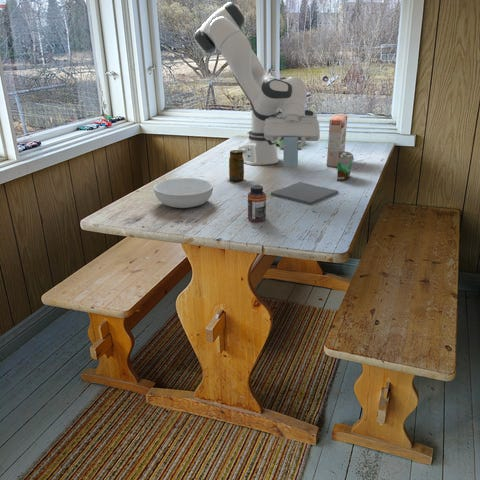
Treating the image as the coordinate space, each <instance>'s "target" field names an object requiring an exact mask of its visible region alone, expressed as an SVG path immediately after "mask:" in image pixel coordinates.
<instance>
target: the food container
mask: <svg viewBox="0 0 480 480" xmlns="http://www.w3.org/2000/svg"><path fill="white" fill-rule="evenodd" d="M354 159H355V158H354V155H353V153H351V152H349V151H339V157H338V167H337V176H336V181H337V182H346V181H348V180H350V176H351V170H352V164H353V162H354Z"/></svg>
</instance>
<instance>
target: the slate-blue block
mask: <svg viewBox="0 0 480 480" xmlns="http://www.w3.org/2000/svg"><path fill="white" fill-rule="evenodd" d="M298 144H299V141H298V137H289V136H284V139H283V150H282V151H283V156H282V157H283V167H285V168H286V167H287V168H288V167H289V168H293V167H294V168H298V164H299V150H298Z"/></svg>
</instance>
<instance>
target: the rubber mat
mask: <svg viewBox="0 0 480 480" xmlns="http://www.w3.org/2000/svg"><path fill="white" fill-rule="evenodd" d="M337 194H339V190H337V189H333V188H330V187H324V186H320V185H315V184H312V183H311V184H310V183H306V182H301V181H299V182H295V183H292V184H290V185H287V186H284V187H281V188H280V189H277V190H276V189H275V190H274V191H271V192H270V195H271V196H274V197H279V198H280V199H281V198H282V199H286V200H289V201H293V202H297V203H302V204H305V205H308V206H311V205H313V204H317V203H319V202H321V201H323V200H325V199H327V198H330V197H333V196H335V195H337Z"/></svg>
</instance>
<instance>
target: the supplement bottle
mask: <svg viewBox="0 0 480 480" xmlns="http://www.w3.org/2000/svg"><path fill="white" fill-rule="evenodd" d="M266 217H267V195H266V193H265V191H264V186H263V185H262V184H253V185H251V186H250V191H249V192H248V193H247V219H248V221H250V222H252V223H261V222H263V221H265V220H266V219H267V218H266Z"/></svg>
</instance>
